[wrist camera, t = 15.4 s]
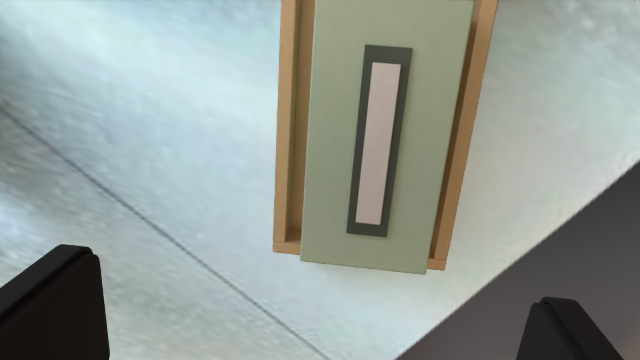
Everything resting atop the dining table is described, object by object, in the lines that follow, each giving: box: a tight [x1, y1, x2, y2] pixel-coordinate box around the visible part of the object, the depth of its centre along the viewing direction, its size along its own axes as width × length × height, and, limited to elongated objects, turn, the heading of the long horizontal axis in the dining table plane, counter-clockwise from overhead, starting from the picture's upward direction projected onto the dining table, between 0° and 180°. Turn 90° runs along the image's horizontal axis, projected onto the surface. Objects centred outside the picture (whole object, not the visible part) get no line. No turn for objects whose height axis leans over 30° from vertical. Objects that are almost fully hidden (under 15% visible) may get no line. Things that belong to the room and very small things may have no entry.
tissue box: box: [300, 0, 474, 275], centre depth 23 cm, size 6×13×7 cm, turn 176°
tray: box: [273, 0, 498, 270], centre depth 26 cm, size 18×11×3 cm, turn 176°
